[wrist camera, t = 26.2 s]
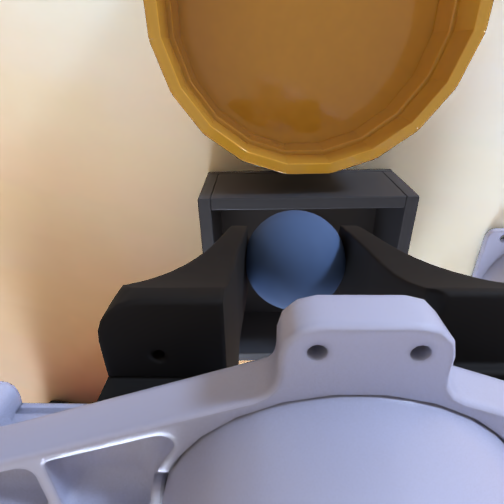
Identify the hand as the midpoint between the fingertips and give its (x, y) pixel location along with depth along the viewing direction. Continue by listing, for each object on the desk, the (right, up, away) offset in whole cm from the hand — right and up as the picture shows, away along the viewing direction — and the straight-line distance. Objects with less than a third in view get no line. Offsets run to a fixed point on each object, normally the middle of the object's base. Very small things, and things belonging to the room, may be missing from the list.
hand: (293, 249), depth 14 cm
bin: (+1, 0, +9) cm, 10 cm away
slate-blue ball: (0, 0, -1) cm, 1 cm away
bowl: (+1, +11, +3) cm, 12 cm away
